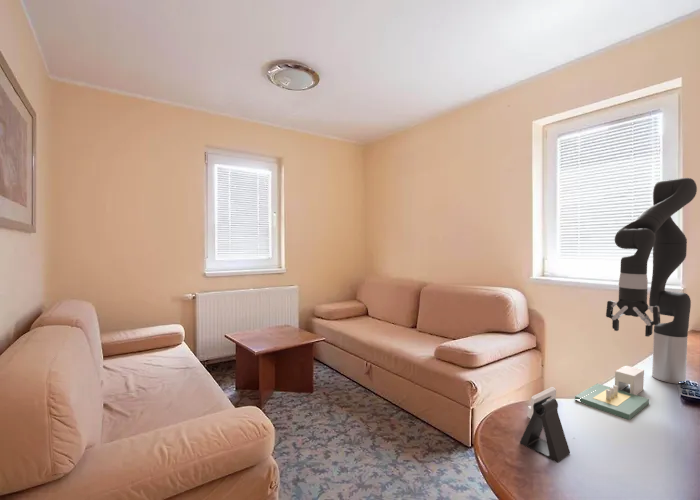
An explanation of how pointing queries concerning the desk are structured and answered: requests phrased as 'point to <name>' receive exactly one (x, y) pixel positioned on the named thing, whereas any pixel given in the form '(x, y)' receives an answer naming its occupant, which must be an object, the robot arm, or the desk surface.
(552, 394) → the white wedge bracket
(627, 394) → the header board
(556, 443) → the phone stand
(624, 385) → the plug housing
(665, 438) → the desk surface
